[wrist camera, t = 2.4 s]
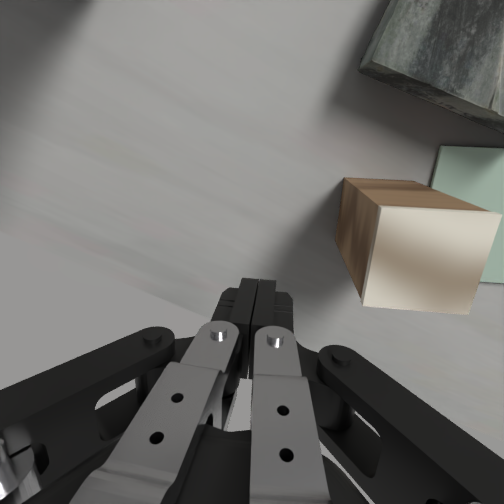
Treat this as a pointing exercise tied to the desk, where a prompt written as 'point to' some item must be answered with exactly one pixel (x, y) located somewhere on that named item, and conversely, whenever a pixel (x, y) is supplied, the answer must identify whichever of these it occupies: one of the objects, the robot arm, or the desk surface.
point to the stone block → (443, 55)
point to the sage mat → (476, 191)
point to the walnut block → (413, 245)
